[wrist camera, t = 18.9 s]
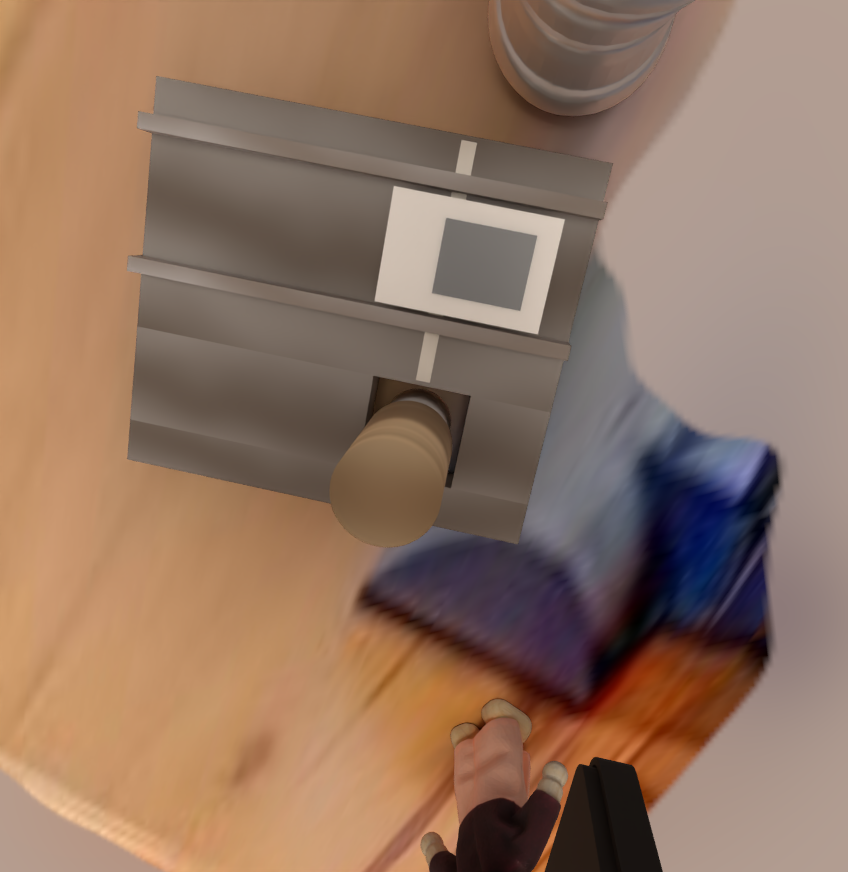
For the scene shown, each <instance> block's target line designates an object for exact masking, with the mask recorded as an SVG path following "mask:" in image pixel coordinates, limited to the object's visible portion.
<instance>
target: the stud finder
mask: <svg viewBox="0 0 848 872" xmlns="http://www.w3.org/2000/svg"><path fill="white" fill-rule="evenodd" d="M564 221H565V219H560V218H555V217H550V216H545V215H539V214H534V213H529V212H524V211H519V210H514V209H509V208H504V207H499V206H493V205H488V204H483V203H478V202H473V201H468V200H463V199H458V198H453V197H448V196H442V195H437V194H432V193H427V192H422V191H417V190H412V189H407V188H402V187H397V186H394V188H393V194H392V200H391V206H390V212H389V218H388V224H387V230H386V236H385V242H384V248H383V254H382V260H381V266H380V271H379V277H378V283H377V289H376V295H375V301H376V302H381V303H386V304H391V305H395V306H400V307H405V308H410V309H415V310H420V311H425V312H430V313H435V314H440V315H445V316H449V317H454V318H459V319H464V320H469V321H474V322H479V323H484V324H489V325H494V326H499V327H504V328H508V329H513V330H518V331H523V332H528V333H533V334H538V331H539V327H540V323H541V319H542V314H543V310H544V306H545V302H546V297H547V293H548V289H549V285H550V281H551V276H552V272H553V268H554V264H555V259H556V255H557V251H558V247H559V242H560V238H561V234H562V230H563V226H564Z"/></svg>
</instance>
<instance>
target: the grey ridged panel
mask: <svg viewBox="0 0 848 872" xmlns="http://www.w3.org/2000/svg"><path fill="white" fill-rule="evenodd" d="M137 128H138V129H141V130H144V131H147V132H150V133H152V141H151V154H150V167H149V180H148V193H147V207H146V220H145V233H144V246H143V255H138V256H128V265H127V271H131V272H136V273H141V286H140V299H139V312H138V325H137V339H136V352H135V365H134V378H133V391H132V404H131V418H130V431H129V444H128V457H127V459H129V460H133V461H138V462H142V463H147V464H152V465H156V466H161V467H165V468H170V469H175V470H179V471H184V472H188V473H193V474H198V475H202V476H207V477H211V478H216V479H220V480H225V481H230V482H234V483H239V484H243V485H248V486H253V487H257V488H262V489H266V490H271V491H276V492H280V493H285V494H289V495H294V496H299V497H303V498H308V499H312V500H317V501H322V502H326V503H331V501H330V493H329V489H330V481H331V477H332V474H333V472H334V469H335V468H336V466H337V464H338V463H339V461H340V460H341V459H342V457H343V456H344V454H345V453H346V452H347V450H348V449H349V448H350V446H351V445H352V444H353V442H354V441H355V440H356V438H357V437H358V435H359V434H360V433H361V431H362V430H363V429H364V427H365V426H366V425H367V423H368V422H369V420H370V419H371V418H372V416H373V410H374V405H375V399H376V393H377V387H378V382H379V377H382V378H387V379H392V380H397V381H402V382H406V383H411V384H416V385H421V386H426V387H430V388H435V389H440V390H445V391H450V392H454V393H459V394H464V395H469V396H470V400H469V405H468V410H467V414H466V419H465V424H464V428H463V433H462V438H461V442H460V447H459V452H458V456H457V461H456V466H455V470H454V474H451V473H447V478H446V482H445V487H444V492H443V497H442V501H441V506H440V510H439V513H438V516H437V518H436V520H435V522H434V523H433V525H432V526H436V527H441V528H446V529H450V530H455V531H459V532H464V533H469V534H473V535H478V536H482V537H487V538H492V539H496V540H501V541H505V542H510V543H515V544H518V542H519V538H520V534H521V530H522V526H523V522H524V518H525V514H526V510H527V506H528V502H529V498H530V494H531V490H532V486H533V482H534V478H535V474H536V470H537V466H538V462H539V458H540V454H541V450H542V446H543V442H544V438H545V433H546V429H547V425H548V421H549V417H550V413H551V409H552V405H553V401H554V397H555V393H556V389H557V385H558V381H559V377H560V373H561V369H562V365H563V361H564V360H565V361H568V358H569V354H570V350H571V345H570V344H569V342H568V341H569V337H570V333H571V329H572V325H573V321H574V317H575V313H576V309H577V305H578V301H579V297H580V293H581V289H582V285H583V281H584V277H585V273H586V269H587V265H588V261H589V257H590V253H591V249H592V245H593V241H594V237H595V233H596V229H597V225H598V221H599V220H602V219H603V218H604V214H605V210H606V206H607V202H603V201H604V197H605V193H606V189H607V185H608V181H609V177H610V173H611V169H612V165H613V163H608V162H603V161H597V160H592V159H587V158H582V157H577V156H571V155H566V154H561V153H556V152H550V151H545V150H540V149H535V148H530V147H524V146H519V145H514V144H509V143H503V142H498V141H493V140H488V139H483V138H477V137H472V136H467V135H462V134H457V133H451V132H446V131H441V130H436V129H430V128H425V127H420V126H415V125H410V124H404V123H399V122H394V121H389V120H383V119H378V118H373V117H368V116H363V115H357V114H352V113H347V112H342V111H337V110H331V109H326V108H321V107H316V106H310V105H305V104H300V103H295V102H290V101H284V100H279V99H274V98H269V97H263V96H258V95H253V94H248V93H243V92H237V91H232V90H227V89H222V88H217V87H211V86H206V85H201V84H196V83H190V82H185V81H180V80H175V79H170V78H164V77H159V76H156V88H155V101H154V114H150V113H145V112H140V111H138V122H137ZM394 186H397V187H402V188H407V189H412V190H417V191H422V192H427V193H432V194H437V195H442V196H448V197H453V198H458V199H463V200H468V201H473V202H478V203H483V204H488V205H493V206H499V207H504V208H509V209H514V210H519V211H524V212H529V213H534V214H539V215H545V216H550V217H555V218H560V219H565V221H564V226H563V230H562V234H561V238H560V242H559V247H558V251H557V255H556V259H555V264H554V268H553V272H552V276H551V281H550V285H549V289H548V293H547V297H546V302H545V306H544V310H543V314H542V319H541V323H540V327H539V331H538V334H533V333H528V332H523V331H518V330H513V329H508V328H504V327H499V326H494V325H489V324H484V323H479V322H474V321H469V320H464V319H459V318H454V317H449V316H445V315H440V314H435V313H430V312H425V311H420V310H415V309H410V308H405V307H400V306H395V305H391V304H386V303H381V302H376V301H375V295H376V289H377V283H378V277H379V271H380V266H381V260H382V254H383V248H384V242H385V236H386V230H387V224H388V218H389V212H390V206H391V200H392V194H393V188H394Z"/></svg>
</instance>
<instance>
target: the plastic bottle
mask: <svg viewBox="0 0 848 872" xmlns="http://www.w3.org/2000/svg"><path fill="white" fill-rule="evenodd" d="M693 1H695V0H489V7H488V27H489V38H490V42H491V46H492V49H493V53H494V56H495V59H496V61H497V63H498V65H499V67H500V69H501V71H502V73H503V75H504V77H505V78H506V79H507V81H508V82H509V83H510V84H511V86H512V87H513V88H514V90H515V91H516V92H517V93H518V94H520V95H521V96H522V97H523V98H524V99H525V100H526V101H528V102H529V103H530V104H532V105H534V106H536V107H537V108H539V109H541V110H543V111H546V112H549V113H553V114H556V115H564V116H582V115H589V114H595V113H598V112H601V111H603V110H606V109H609V108H611V107H613V106H615V105H616V104H618V103H620V102H621V101H623V100H624V99H626V98H628V97H629V96H630V95H631V94H632V93H633V92H634V91H635V90H637V89H638V88H639V87H640V86H641V85H642V84H643V83H644V81H645V80H646V79H647V77H648V76H649V75H650V73H651V72H652V71H653V69H654V68H655V66H656V64H657V62H658V60H659V58H660V56H661V55H662V53H663V51H664V48H665V46H666V43H667V41H668V38H669V35H670V32H671V29H672V26H673V23H674V19H675V15H676V14H677V12H678V11H679V10H681V9H682V8H683V7H685V6H687V5H688V4H690V3H692V2H693Z"/></svg>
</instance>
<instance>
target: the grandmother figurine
mask: <svg viewBox="0 0 848 872" xmlns="http://www.w3.org/2000/svg"><path fill="white" fill-rule="evenodd" d="M481 714H482V718H483V720H484V722H485V723H486V725H485V726H484V727H483V728H482V729H481V730H479V729H478V728H477V727H476V726H475V725H473V724H469V723H464V724H461V725H459V726H457V727H455V728H454V729H453V730H452V732H451V741H452V744H453V747H454V749H455V751H454V757H455V764H454V788H455V795H456V800H457V809H458V817H459V823H460V827H459V833H458V842H457V849H456V856H455V855H453V854H452V853H450V852H449V851H448V850H447V848H446V846H444V844H443V840H442V838H441V837H440V835H438V834H437V833H435V832H429V833H427V834H425V835H424V836H423V838H422V840H421V850H422V852H423V854H424V855H425V856H426V861H427V863H428V866H429V871H430V872H531V871H532V870H533V869H534V867H535V866H536V864H537V862H538V860H539V859H540V857H541V854H542V852H543V850H544V848H545V846H546V844H547V841H548V839H549V837H550V834H551V832H552V829H553V827H554V824H555V822H556V820H557V818H558V815H559V812H560V808H561V805H560V801H561V798H562V795H563V790H562V787H563V786H564V785H565V783H566V781H567V779H568V773H567V770H566V768H565V766H564V765H563V764H561V763H560V762H557V761H551V762H549V763H547V764H546V765H545V767H544V769H543V772H542V774H543V778H542V779H541V780H540V782H539V783H538V786H537V789H536V790H535V791H534V792H533V794H532V795H531V796H530V798H529V799H528V794H529V784H530V755H529V753H528V752H526V751H524V750H523V743H524V742H525V741H526V739H527V738H528V737H529V735H530V733H531V729H532V723H531V721H530V719H529V717H528V716H527V715H526V714H524V713H523V712H521V711H520V710H519V709H517V708H515V707H514V706H513V705H511V704H510V703H508V702H507V701H505V700H502V699H494V700H491V701H490V702H488V703H487V704H486V705H485V706H484V707H483V709H482V712H481Z"/></svg>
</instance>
